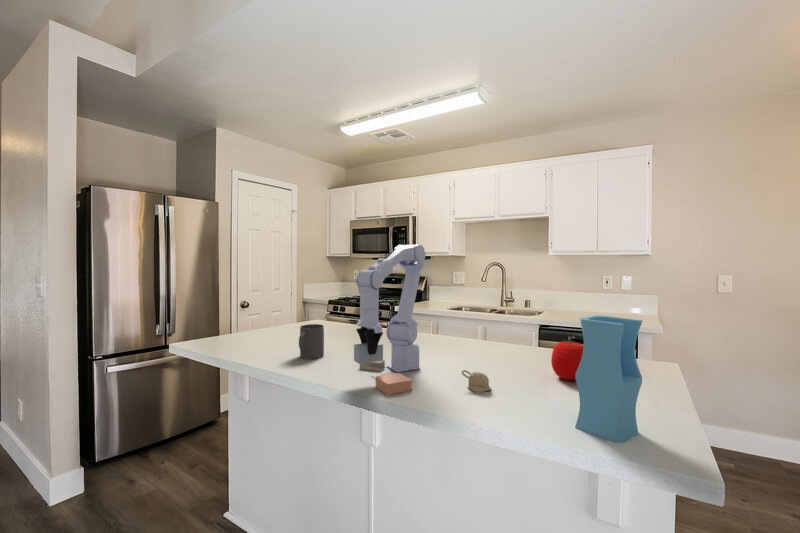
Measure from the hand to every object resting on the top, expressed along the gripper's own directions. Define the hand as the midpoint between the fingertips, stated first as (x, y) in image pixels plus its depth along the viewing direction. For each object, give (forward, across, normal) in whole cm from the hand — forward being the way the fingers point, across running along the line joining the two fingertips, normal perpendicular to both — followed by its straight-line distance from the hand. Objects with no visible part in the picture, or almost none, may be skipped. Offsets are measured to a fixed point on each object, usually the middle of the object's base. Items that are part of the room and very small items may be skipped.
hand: (369, 352), depth 117 cm
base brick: (+9, +8, +4) cm, 13 cm away
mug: (+10, -38, -9) cm, 40 cm away
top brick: (+2, 0, 0) cm, 3 cm away
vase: (+10, +55, +35) cm, 66 cm away
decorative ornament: (+10, +20, +26) cm, 34 cm away
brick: (+10, -14, +7) cm, 18 cm away
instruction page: (+9, -3, +7) cm, 12 cm away
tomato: (+10, +26, +59) cm, 65 cm away
